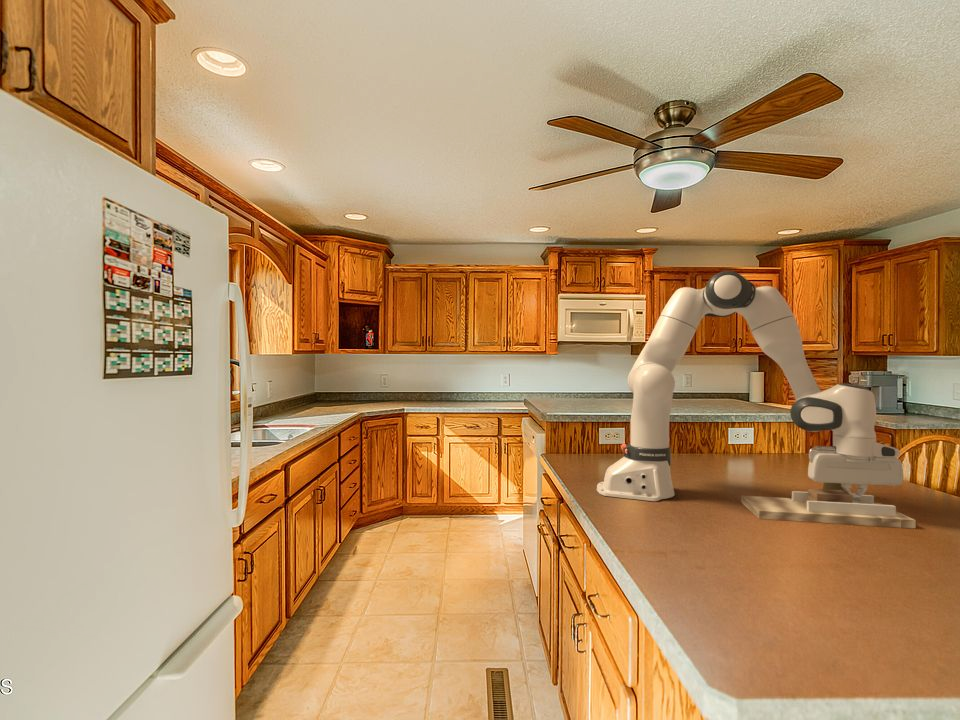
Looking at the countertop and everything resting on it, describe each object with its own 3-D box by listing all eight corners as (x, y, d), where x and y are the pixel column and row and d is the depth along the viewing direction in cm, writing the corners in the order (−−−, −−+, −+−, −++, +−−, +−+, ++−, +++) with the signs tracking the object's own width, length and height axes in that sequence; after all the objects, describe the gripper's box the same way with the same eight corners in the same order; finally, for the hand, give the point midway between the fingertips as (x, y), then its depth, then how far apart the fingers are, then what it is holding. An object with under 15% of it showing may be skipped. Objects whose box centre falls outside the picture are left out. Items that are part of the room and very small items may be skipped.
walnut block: (817, 509, 124) (817, 493, 124) (808, 503, 129) (808, 488, 129) (852, 511, 122) (852, 495, 122) (842, 505, 127) (842, 490, 127)
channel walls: (808, 511, 122) (808, 501, 122) (791, 500, 132) (791, 491, 132) (895, 516, 118) (895, 506, 118) (871, 504, 128) (871, 495, 128)
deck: (759, 518, 122) (759, 510, 122) (741, 502, 136) (741, 495, 136) (915, 528, 115) (915, 520, 115) (880, 510, 129) (880, 503, 129)
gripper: (814, 447, 123) (814, 501, 123) (907, 450, 119) (907, 506, 119) (803, 443, 129) (803, 495, 129) (891, 446, 125) (891, 499, 125)
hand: (854, 500), depth 124 cm, fingers closed
